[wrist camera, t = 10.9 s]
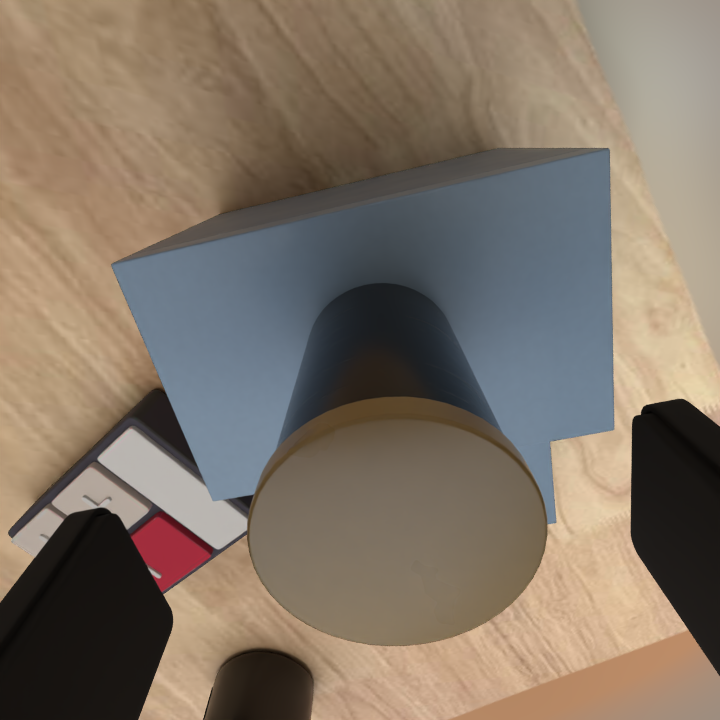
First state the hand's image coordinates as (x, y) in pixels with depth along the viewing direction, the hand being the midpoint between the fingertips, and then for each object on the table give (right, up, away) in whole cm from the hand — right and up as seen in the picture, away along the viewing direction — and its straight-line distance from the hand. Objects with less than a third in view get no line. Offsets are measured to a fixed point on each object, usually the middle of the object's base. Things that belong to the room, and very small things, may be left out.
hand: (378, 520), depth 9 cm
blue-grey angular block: (+2, +3, +22) cm, 23 cm away
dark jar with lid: (0, +3, +8) cm, 9 cm away
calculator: (-16, -7, +27) cm, 32 cm away
